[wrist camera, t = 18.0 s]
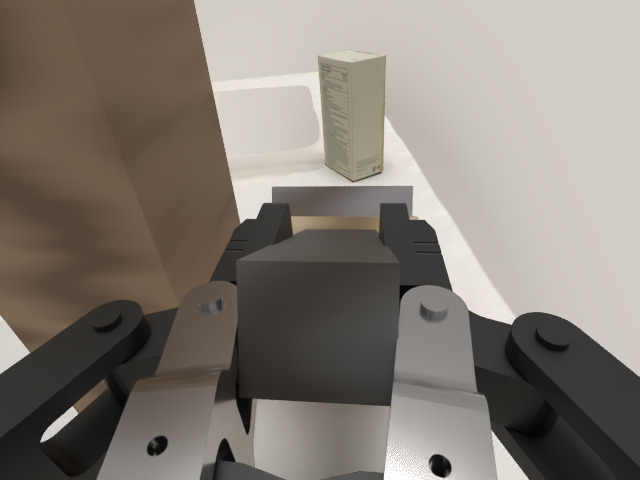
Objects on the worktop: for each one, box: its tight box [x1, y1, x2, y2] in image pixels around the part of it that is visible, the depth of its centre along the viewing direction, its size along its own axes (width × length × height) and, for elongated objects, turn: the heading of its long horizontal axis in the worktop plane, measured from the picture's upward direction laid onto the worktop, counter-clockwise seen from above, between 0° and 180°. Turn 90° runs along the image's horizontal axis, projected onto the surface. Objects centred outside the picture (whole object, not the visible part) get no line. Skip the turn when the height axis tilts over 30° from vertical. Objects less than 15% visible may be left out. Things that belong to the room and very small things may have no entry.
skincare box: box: [318, 50, 386, 181], centre depth 40 cm, size 6×4×12 cm
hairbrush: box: [236, 186, 418, 406], centre depth 15 cm, size 6×16×4 cm
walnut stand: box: [0, 0, 240, 413], centre depth 14 cm, size 8×8×31 cm
